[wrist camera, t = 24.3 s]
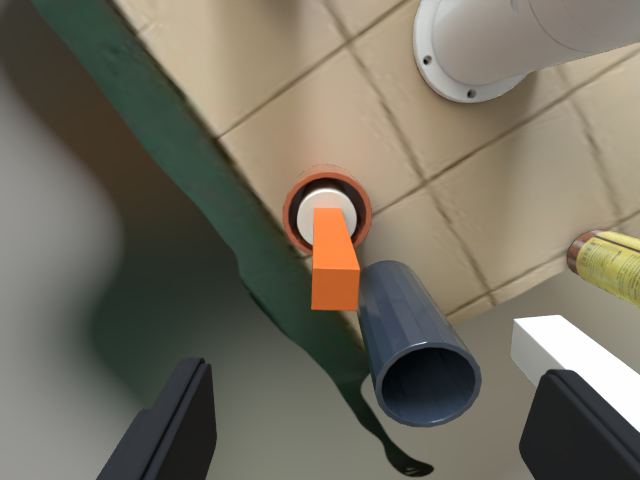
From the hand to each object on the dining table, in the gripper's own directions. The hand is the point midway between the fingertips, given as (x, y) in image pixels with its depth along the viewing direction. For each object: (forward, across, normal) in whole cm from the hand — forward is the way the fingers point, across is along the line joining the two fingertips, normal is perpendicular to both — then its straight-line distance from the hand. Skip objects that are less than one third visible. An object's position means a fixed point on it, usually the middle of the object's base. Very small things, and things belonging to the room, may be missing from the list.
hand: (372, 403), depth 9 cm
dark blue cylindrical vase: (+29, -7, +12) cm, 32 cm away
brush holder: (+29, +1, +1) cm, 29 cm away
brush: (+28, +1, +1) cm, 28 cm away
